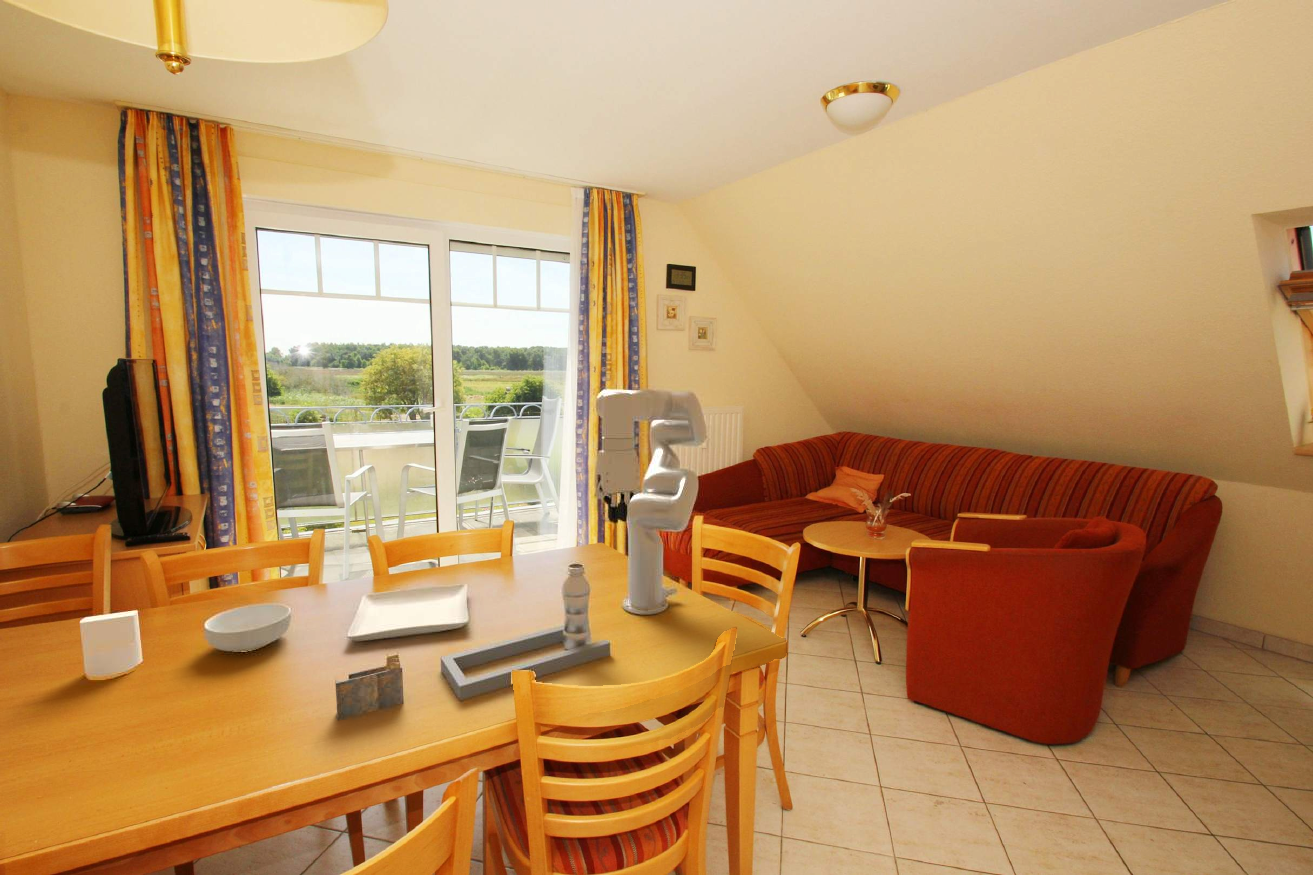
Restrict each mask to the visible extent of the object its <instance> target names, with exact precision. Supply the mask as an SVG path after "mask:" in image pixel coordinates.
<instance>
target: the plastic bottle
mask: <svg viewBox="0 0 1313 875" xmlns="http://www.w3.org/2000/svg"><path fill="white" fill-rule="evenodd" d="M585 572H586V571H585V565H584V564H583V563H571V564H568V566H567V575H568V576H567V577H566V579H565V580H564V582H563V583H562V586H561V596H562V600H563V601H562V602H563V610H564V623H563V625H564V630H563V637H562V640H563V642H562V645H563V647H564V648H565V650H566V651H567V650H570V649H574V648H577V647H581V646H584V645H588V644H591V643H592V635H591V634H592V633H591V629H590V622H589V621H590V620H589V602H590V594H591V585H590V583H589V582H588V580H587V578H586V577H585V576H584V575H585Z"/></svg>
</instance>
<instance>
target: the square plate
mask: <svg viewBox="0 0 1313 875" xmlns="http://www.w3.org/2000/svg"><path fill="white" fill-rule="evenodd" d="M467 596H468V584H467V583H459V584H458V583H457V584H448V585H437V586H436V585H435V586H425V587H415V588H408V589H397V590H391V591H390V590H389V591H382V592H375V593H368V594H364V595H362V598H361V601H360V603H359V607H358V608H357V612H356V613H355V616H354V619H353V620H352V623H351V624H350V626H349V630H348V632H347V635H346V638H348V639H350V640H352V641H357V642H364V641H372V640H374V641H375V640H382V639H384V638H385V639H389V638H390V639H392V638H398V637H399V638H400V637H406V636H407V637H408V636H415V635H421V634H422V635H423V634H432V633H438V632H444V631H449V630H454V629H455V630H457V629H459V628H462V627H464V626H465V625H466V624H467V623H468V622H469V617H470V616H469V611H468V610H469V608H468V601H467V599H468V598H467Z"/></svg>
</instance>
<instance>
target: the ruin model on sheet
mask: <svg viewBox="0 0 1313 875" xmlns="http://www.w3.org/2000/svg"><path fill="white" fill-rule="evenodd" d="M396 652H397V653H395V654H391V655H388V653H387V654H386V656H387V657H386V665H382V666H377V667H373V668H370V669H365V670H360V671H356V672H351V673H348V679H346V680H341V681H338V676H335V677H334V683H335V698H336V700H335V701H336V714H337V721H340V720H341V721H342V720H344V719H347V718H351V717H355V716H359V715H363V714H365V713H366V714H367V713H370V712H374V711H375V712H376V711H378V710H382V709H386V708H389V707H392V706H397V705H400V704H404V702H405V700H404V682H403V680H404V677H403V666H402V663H401V660H400V655H399V651H396Z"/></svg>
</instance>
